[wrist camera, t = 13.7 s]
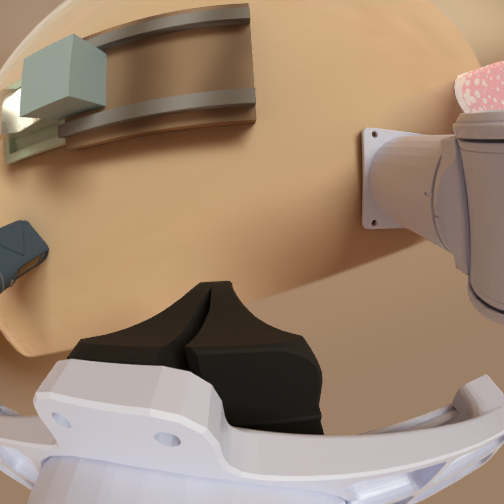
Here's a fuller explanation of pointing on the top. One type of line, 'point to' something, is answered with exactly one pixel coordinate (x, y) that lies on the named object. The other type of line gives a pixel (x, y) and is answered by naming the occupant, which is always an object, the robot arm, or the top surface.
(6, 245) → the vaping device
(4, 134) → the chip
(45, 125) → the chip
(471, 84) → the beverage cup
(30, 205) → the top surface
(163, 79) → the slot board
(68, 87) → the sage green cube
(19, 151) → the chip tray
